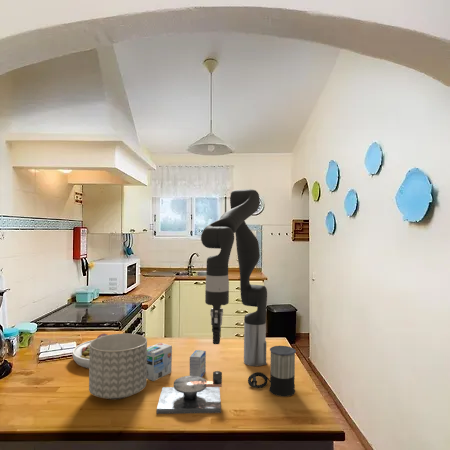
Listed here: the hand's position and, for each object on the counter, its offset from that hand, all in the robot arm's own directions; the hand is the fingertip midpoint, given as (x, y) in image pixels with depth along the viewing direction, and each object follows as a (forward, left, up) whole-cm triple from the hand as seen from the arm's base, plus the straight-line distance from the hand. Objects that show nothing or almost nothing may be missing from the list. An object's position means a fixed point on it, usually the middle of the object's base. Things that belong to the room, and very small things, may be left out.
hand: (216, 342), depth 116 cm
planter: (+33, -11, -21) cm, 41 cm away
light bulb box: (+22, -27, -21) cm, 41 cm away
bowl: (+45, -45, -22) cm, 67 cm away
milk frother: (-20, -14, -21) cm, 32 cm away
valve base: (+8, -5, -21) cm, 23 cm away
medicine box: (+6, -26, -21) cm, 34 cm away
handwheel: (+6, -4, -16) cm, 17 cm away
